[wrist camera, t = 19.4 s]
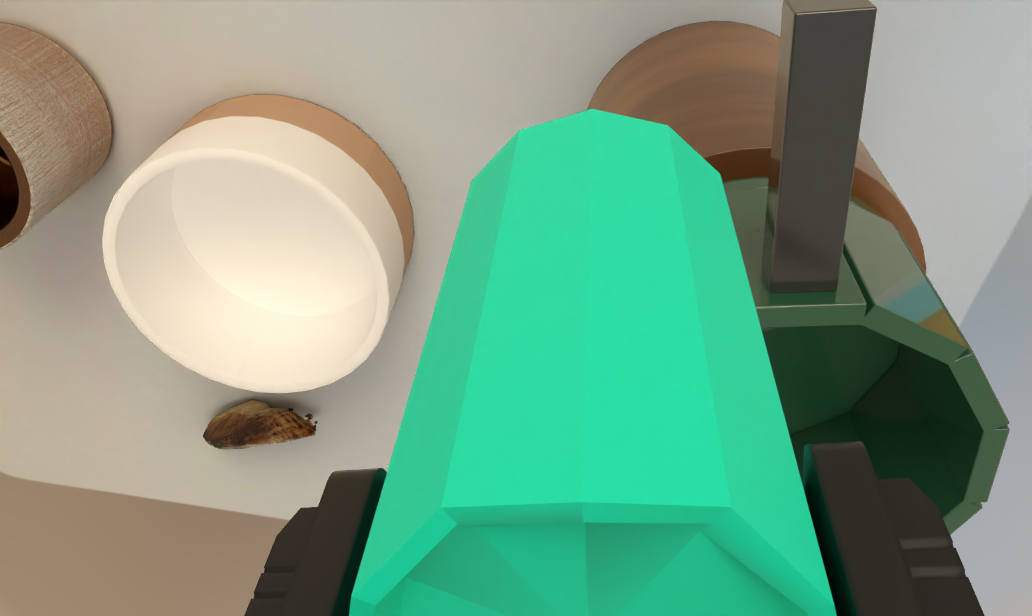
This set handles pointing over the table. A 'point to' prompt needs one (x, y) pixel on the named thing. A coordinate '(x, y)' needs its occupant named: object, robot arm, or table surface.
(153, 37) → the table surface
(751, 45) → the stand
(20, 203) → the planter
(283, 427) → the oyster shell
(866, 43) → the pot
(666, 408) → the candle
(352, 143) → the bowl
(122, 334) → the table surface
